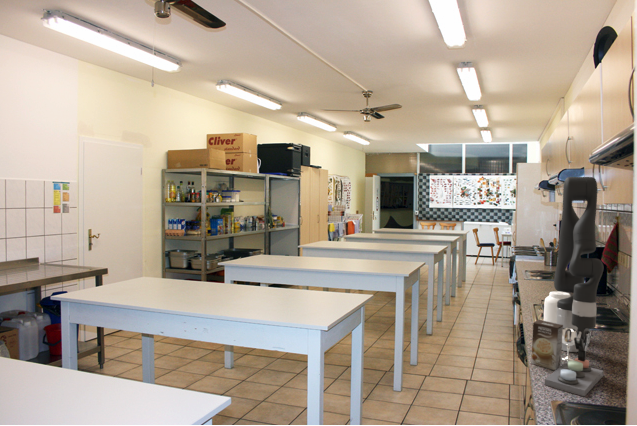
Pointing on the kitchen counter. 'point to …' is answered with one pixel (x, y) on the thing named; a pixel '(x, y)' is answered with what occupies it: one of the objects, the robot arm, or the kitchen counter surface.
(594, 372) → the panel
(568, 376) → the white button
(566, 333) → the wineglass
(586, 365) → the brick button
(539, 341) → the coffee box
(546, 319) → the white bottle
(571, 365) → the sage button
